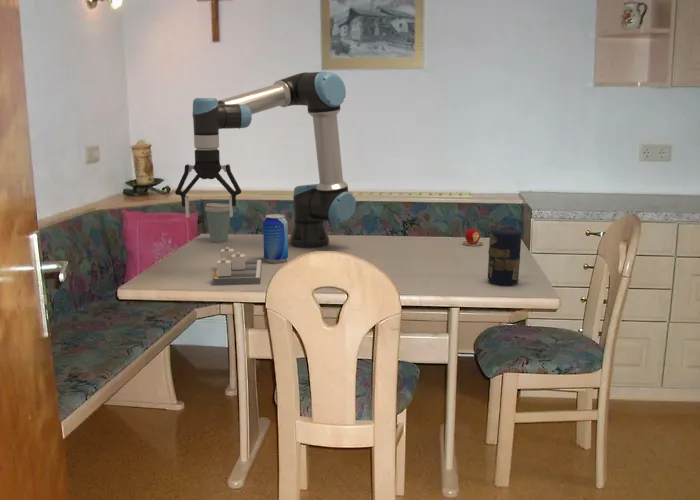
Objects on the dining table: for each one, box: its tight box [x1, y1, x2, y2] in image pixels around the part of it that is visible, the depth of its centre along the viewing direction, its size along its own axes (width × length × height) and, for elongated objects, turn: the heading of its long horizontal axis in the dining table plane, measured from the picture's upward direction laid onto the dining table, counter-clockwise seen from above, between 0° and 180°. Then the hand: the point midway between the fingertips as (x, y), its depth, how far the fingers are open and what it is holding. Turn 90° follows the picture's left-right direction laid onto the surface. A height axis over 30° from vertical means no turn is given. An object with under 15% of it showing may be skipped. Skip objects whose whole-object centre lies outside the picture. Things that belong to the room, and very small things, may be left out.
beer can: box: [262, 213, 289, 264], centre depth 240 cm, size 8×8×16 cm
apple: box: [461, 228, 484, 247], centre depth 269 cm, size 8×8×6 cm
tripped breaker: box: [232, 251, 246, 270], centre depth 222 cm, size 4×4×5 cm
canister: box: [487, 225, 522, 286], centre depth 213 cm, size 10×10×18 cm
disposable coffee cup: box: [204, 203, 231, 244], centre depth 272 cm, size 11×11×15 cm
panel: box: [213, 246, 262, 286], centre depth 222 cm, size 14×23×7 cm, turn 6°
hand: (209, 216), depth 219 cm, fingers open, 13 cm apart
